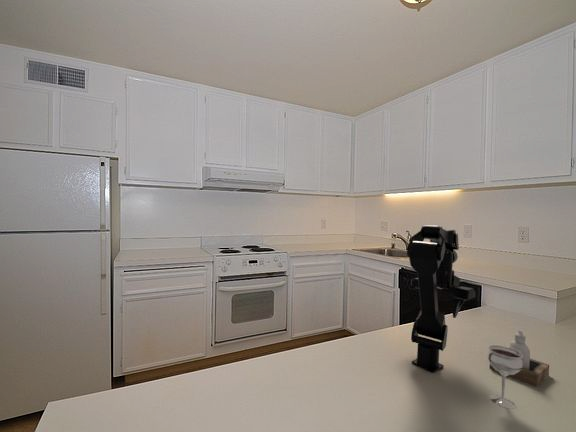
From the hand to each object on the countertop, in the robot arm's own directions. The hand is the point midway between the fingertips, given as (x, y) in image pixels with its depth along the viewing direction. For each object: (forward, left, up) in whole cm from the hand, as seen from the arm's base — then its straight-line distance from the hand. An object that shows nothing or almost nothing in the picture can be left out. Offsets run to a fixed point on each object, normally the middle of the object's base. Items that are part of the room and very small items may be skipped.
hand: (440, 313), depth 97 cm
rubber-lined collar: (+7, -20, -12) cm, 24 cm away
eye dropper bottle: (+7, -20, -12) cm, 24 cm away
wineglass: (-15, -23, -12) cm, 30 cm away
